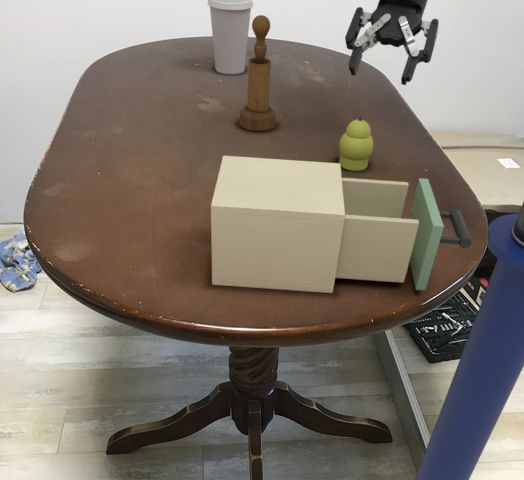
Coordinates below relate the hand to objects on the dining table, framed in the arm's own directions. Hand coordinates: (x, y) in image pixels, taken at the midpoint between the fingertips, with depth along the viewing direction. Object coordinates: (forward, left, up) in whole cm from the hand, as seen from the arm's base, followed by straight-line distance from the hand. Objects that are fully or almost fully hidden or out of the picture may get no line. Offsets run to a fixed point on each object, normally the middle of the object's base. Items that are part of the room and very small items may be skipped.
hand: (377, 77), depth 96 cm
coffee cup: (+28, -37, -12) cm, 47 cm away
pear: (+3, +7, -12) cm, 14 cm away
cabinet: (+15, +37, -12) cm, 42 cm away
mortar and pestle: (+20, -7, -12) cm, 24 cm away
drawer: (+1, +37, -11) cm, 39 cm away
